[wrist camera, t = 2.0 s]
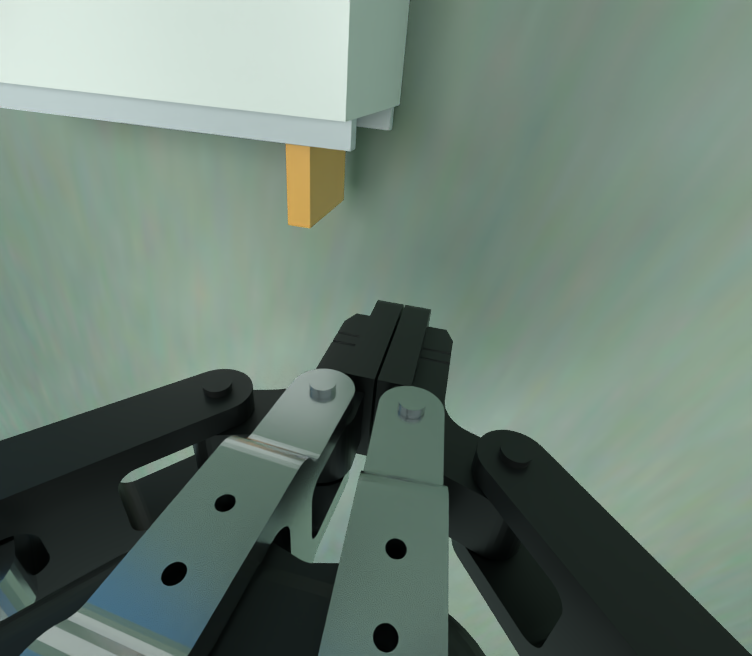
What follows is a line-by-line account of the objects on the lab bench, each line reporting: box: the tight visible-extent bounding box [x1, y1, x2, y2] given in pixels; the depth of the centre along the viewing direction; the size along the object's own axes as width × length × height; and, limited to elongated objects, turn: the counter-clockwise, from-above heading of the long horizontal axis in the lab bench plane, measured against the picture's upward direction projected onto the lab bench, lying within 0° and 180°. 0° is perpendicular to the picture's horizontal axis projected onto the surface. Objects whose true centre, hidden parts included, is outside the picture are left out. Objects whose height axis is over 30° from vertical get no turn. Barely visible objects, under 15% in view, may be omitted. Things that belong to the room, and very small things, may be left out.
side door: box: [125, 123, 346, 228], centre depth 24 cm, size 5×10×7 cm, turn 85°
